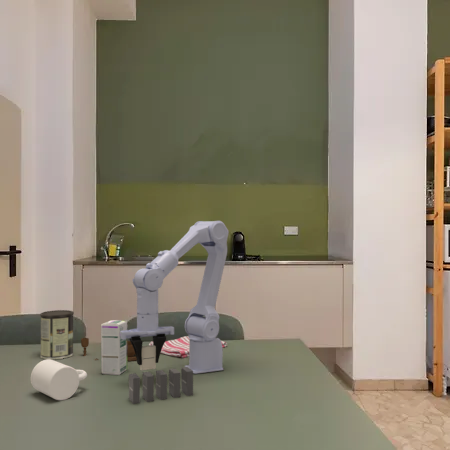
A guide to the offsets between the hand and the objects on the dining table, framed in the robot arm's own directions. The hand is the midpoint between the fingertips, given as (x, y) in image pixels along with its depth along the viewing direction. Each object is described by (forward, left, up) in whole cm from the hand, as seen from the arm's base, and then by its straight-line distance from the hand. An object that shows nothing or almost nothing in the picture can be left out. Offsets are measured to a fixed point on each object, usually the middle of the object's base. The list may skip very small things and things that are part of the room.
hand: (147, 363), depth 132 cm
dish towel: (-24, -31, -6) cm, 39 cm away
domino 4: (0, +13, -5) cm, 14 cm away
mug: (+22, 0, -5) cm, 23 cm away
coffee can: (+19, -39, -5) cm, 44 cm away
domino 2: (0, 0, -2) cm, 2 cm away
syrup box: (+6, -13, -5) cm, 15 cm away
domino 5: (-3, +13, -5) cm, 14 cm away
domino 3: (+4, +13, -5) cm, 14 cm away
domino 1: (+7, +13, -5) cm, 16 cm away
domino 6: (-6, +13, -5) cm, 15 cm away
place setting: (+1, -32, -6) cm, 32 cm away
